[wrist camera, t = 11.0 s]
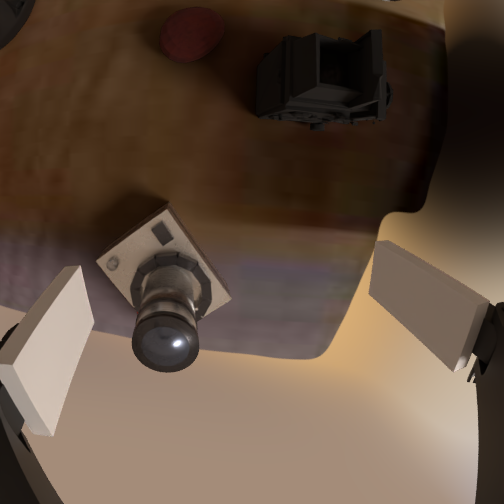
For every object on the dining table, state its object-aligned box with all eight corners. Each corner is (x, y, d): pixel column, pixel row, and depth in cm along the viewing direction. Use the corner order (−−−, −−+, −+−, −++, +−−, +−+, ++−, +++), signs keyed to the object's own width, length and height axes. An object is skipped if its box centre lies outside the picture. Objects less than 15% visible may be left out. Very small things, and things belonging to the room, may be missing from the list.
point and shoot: (105, 248, 39) (93, 264, 34) (169, 201, 39) (166, 211, 34) (165, 321, 45) (163, 346, 39) (226, 283, 45) (233, 303, 39)
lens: (148, 313, 38) (139, 374, 27) (141, 268, 36) (125, 320, 25) (197, 309, 39) (205, 370, 28) (193, 264, 37) (198, 315, 26)
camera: (346, 135, 41) (448, 139, 22) (252, 126, 38) (311, 112, 20) (348, 69, 38) (446, 39, 19) (254, 55, 35) (311, -9, 16)
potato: (149, 34, 31) (144, 17, 26) (206, 7, 31) (210, -12, 26) (174, 76, 34) (172, 65, 28) (232, 48, 34) (240, 34, 29)
